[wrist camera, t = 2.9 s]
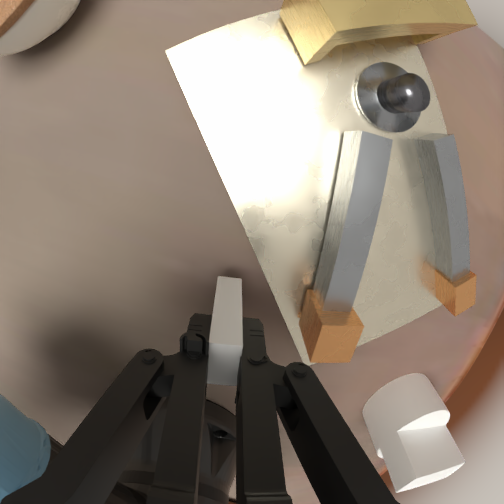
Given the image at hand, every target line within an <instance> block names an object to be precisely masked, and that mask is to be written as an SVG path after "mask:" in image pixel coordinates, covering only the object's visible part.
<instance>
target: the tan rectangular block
mask: <svg viewBox="0 0 504 504" xmlns="http://www.w3.org/2000/svg"><path fill="white" fill-rule="evenodd" d="M279 15H280V17H281V18H282V20H283V22H284V24H285V26H286V28H287V30H288V31H289V33H290V35H291V37H292V39H293V41H294V43H295V45H296V47H297V49H298V51H299V53H300V56H301V58H302V60H303V62H304V64H305V65H306V64H309V63H313V62H317V61H320V60H321V59H322V58H323V57H324V56H325V55H326V54H327V53H328V52H330V51H331V50H332V49H333V48H334V47H335V46H336V45H341V44H346V43H352V42H358V41H364V40H370V39H377V38H385V37H394V36H404V35H411V37H412V39H413V41H414V43H415V44H425V43H427V42H430V41H432V40H435V39H438V38H440V37H443V36H446V35H449V34H451V33H454V32H457V31H460V30H463V29H466V28H470V27H473V26H476V25H477V22H476V20H475V18H474V16H473V14H472V12H471V10H470V8H469V6H468V4H467V2H466V0H284V2H283V5H282V7H281V10H280V13H279Z"/></svg>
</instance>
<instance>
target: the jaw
mask: <svg viewBox="0 0 504 504" xmlns="http://www.w3.org/2000/svg"><path fill="white" fill-rule="evenodd" d="M392 142H393V140H392V139H389V138H386V137H382V136H379V135H376V134H372V133H369V132H365V131H344V137H343V144H342V150H341V156H340V162H339V168H338V174H337V179H336V185H335V190H334V195H333V200H332V205H331V210H330V215H329V220H328V225H327V230H326V234H325V239H324V243H323V248H322V252H321V257H320V261H319V265H318V269H317V274H316V278H315V282H314V286H313V289H307V292H306V296H305V300H304V304H303V308H302V312H301V316H300V320H299V323H298V324H299V327H300V330H301V334H302V337H303V340H304V344H305V347H306V350H307V354H308V357H309V360H310V363H344V362H350V360H351V358H352V355H353V353H354V351H355V348H356V346H357V344H358V341H359V339H360V336H361V334H362V331H363V329H364V325H363V323H362V322H361V320H360V318H359V317H358V315H357V313H356V312H355V310H354V309H353V307H352V306H353V303H354V300H355V297H356V294H357V291H358V288H359V285H360V281H361V278H362V275H363V271H364V268H365V264H366V261H367V257H368V254H369V250H370V246H371V243H372V239H373V235H374V231H375V227H376V223H377V219H378V214H379V210H380V206H381V201H382V196H383V192H384V187H385V182H386V177H387V171H388V166H389V160H390V154H391V148H392Z"/></svg>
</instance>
